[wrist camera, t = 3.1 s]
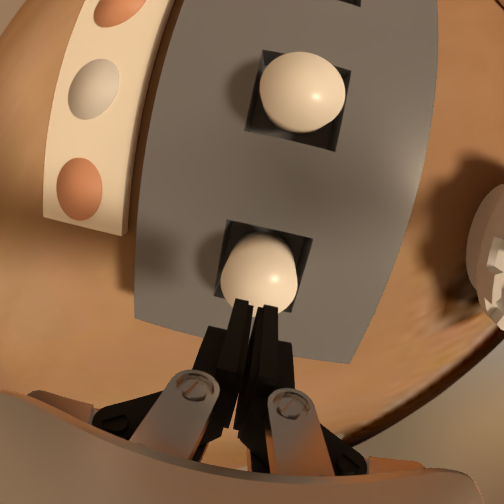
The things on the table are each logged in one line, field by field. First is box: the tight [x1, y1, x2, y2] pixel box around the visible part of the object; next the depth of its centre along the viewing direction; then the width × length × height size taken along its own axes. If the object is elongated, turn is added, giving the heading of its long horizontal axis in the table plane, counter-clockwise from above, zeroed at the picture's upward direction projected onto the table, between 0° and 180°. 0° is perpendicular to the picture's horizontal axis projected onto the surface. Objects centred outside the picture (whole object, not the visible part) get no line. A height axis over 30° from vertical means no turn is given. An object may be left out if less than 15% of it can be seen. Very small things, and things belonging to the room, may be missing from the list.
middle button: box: [260, 52, 345, 134], centre depth 12 cm, size 4×4×3 cm
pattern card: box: [43, 0, 175, 236], centre depth 16 cm, size 22×9×1 cm, turn 168°
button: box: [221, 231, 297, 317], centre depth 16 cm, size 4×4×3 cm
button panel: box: [134, 0, 438, 364], centre depth 15 cm, size 32×16×4 cm, turn 168°
